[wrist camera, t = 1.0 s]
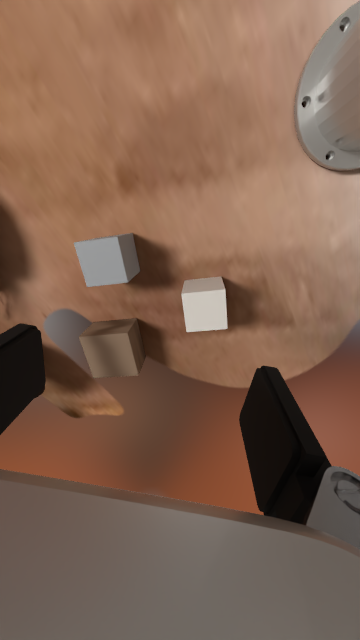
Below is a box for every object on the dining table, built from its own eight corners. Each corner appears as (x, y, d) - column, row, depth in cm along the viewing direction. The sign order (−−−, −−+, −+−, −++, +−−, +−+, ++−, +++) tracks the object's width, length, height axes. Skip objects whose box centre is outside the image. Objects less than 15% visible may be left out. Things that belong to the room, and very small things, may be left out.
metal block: (137, 317, 35) (127, 332, 30) (145, 356, 38) (138, 375, 33) (94, 321, 36) (78, 336, 31) (106, 358, 38) (93, 377, 34)
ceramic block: (221, 276, 31) (225, 289, 26) (223, 310, 33) (227, 328, 28) (184, 280, 32) (181, 293, 26) (188, 313, 34) (186, 332, 28)
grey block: (132, 232, 30) (117, 236, 24) (140, 271, 32) (127, 282, 26) (96, 238, 30) (73, 242, 25) (106, 275, 32) (87, 286, 27)
